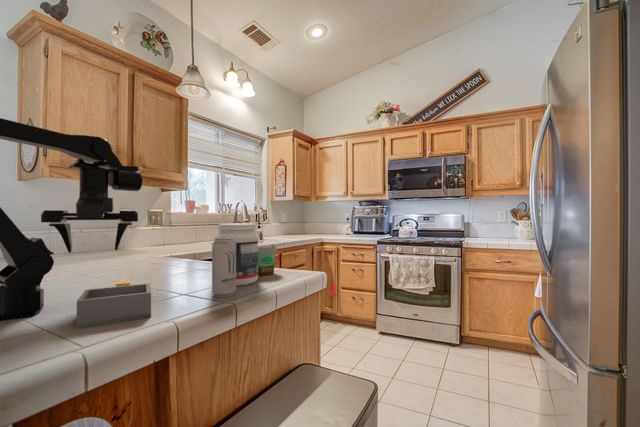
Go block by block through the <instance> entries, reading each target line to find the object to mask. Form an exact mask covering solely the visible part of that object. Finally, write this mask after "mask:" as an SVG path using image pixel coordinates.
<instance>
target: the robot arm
mask: <svg viewBox="0 0 640 427" xmlns="http://www.w3.org/2000/svg"><path fill="white" fill-rule="evenodd" d="M0 140H3V141H8V142H13V143H18V144H24V145H28V146H32V147H38V148H41V149H47V150H52V151H57V152H60V153H63V154H65V155H68V156H69V157H71V158H73V159H76V160H75V161H74V162H73V163H71V164H69V165H68V168H69V169H72V170H73V169H74V170H79V196H78V200H77V202H76V203H75V208H76V212H75V213H74V212H69V210H60V209H59V210H52V209H51V210H43V211H42V212H41V215H40V223H48V226H49V227H54V228H55V229H56V230H57V232H58V233H59V234H60V236H61V238H62V241H63V243H64V244H65V248H66V249H67V252H68V253H72V251H73V242H72V241H73V240H72V232H71V231H72V230H71V223H69V222H68V221H116V220H117V221H118V223H117V229H116V236H115V243H114V251H118V249H119V247H120V246H119V245H120V244H121V240H122V239H123V235H124V233H125V231H126V230H127V227H128V226H132V225H133V223H135V222H136V223H137V222H138V221H139V213H138V211H136V210H119V212H114V198H113V197H109V187H111V189H112V190H113V191H124V192H125V191H127V192H139V191H140V190H141V188H142V187H143V177H142V173H140V171H139V167H138V166H135V165H132V166H131V165H123V164H122V162H121V161H120V160H119V158H118V157H117V156H116V154H115V153H114V152H113V149H112V145H111V144H110V142H109V141H108V140H107V138H103V137H101V136H94V135H87V134H86V135H83V134H67V133H62V132H58V131H54V130H51V129H50V130H49V129H46V128H43V127H38V126H33V125H30V124H26V123H21V122H19V121H18V122H17V121H14V120H9V119H5V118H2V117H0ZM0 252H1V254H2V256H3V258H4V260H5V262H6V263H7V265H5V267H3V268H2V269H1V270H0V321H1V320H2V321H3V320H10V319H19V318H24V317H25V318H26V317H31V316H36V315H37V314H38V313H39V312H40V311H41V310H42V309H43V308H44V307H45V304H44V302H45V295H44V294H45V289H44V288H41V284H42V281H43V279H44V277H45V276H46V275H47V274H48V273H50V271H51V270H52V269H53V267H54V264H55V262H54V261H55V260H54V258H53V256H52V255H54V254H55V253H54V251H52V250H50V249H49V248H48V247H47V246H46V243H45V241H44V240H43V239H42V238H38V237H30V238H28V237H27V236H26V235H25V234H23V232H22V231H21V230H20V229H19V228H18V227H17V225H16V224H15V223H14V222H13V220H12V219H11V218H10V216H8V214H7V213H6V212H5V211H4V209H3V208H2V206H0Z"/></svg>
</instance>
